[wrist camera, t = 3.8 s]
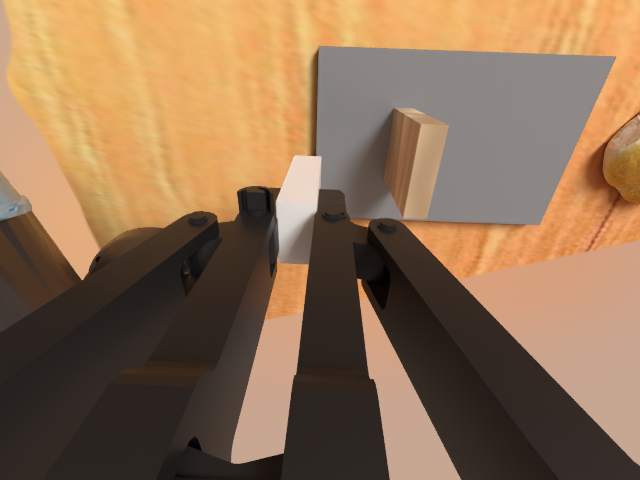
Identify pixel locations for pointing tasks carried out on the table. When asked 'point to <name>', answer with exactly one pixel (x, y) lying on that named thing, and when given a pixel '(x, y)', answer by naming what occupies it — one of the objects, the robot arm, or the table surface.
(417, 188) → the light wood flat block
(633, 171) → the bread roll
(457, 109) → the slate board
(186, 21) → the table surface
